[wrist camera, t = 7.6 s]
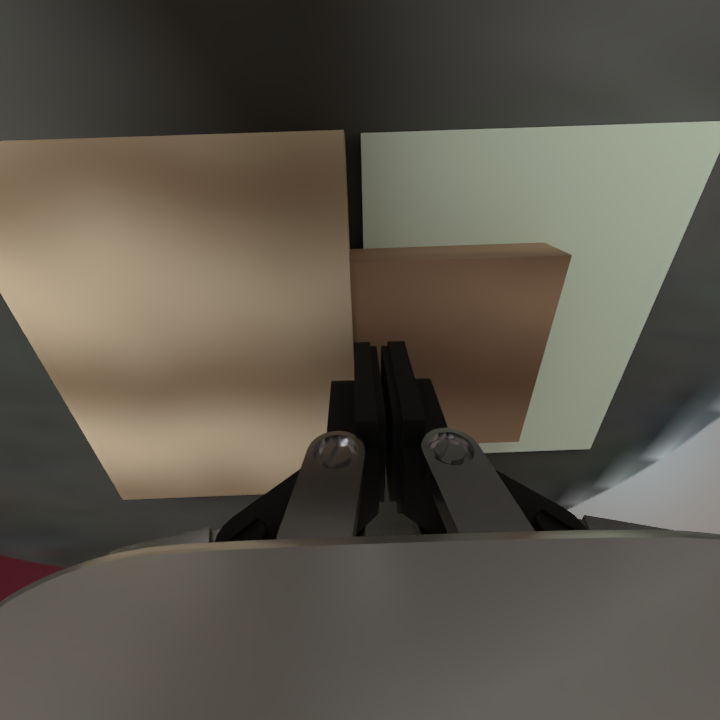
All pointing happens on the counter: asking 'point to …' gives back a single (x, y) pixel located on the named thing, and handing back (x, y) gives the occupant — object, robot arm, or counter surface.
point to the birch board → (184, 298)
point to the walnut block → (464, 323)
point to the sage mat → (552, 234)
